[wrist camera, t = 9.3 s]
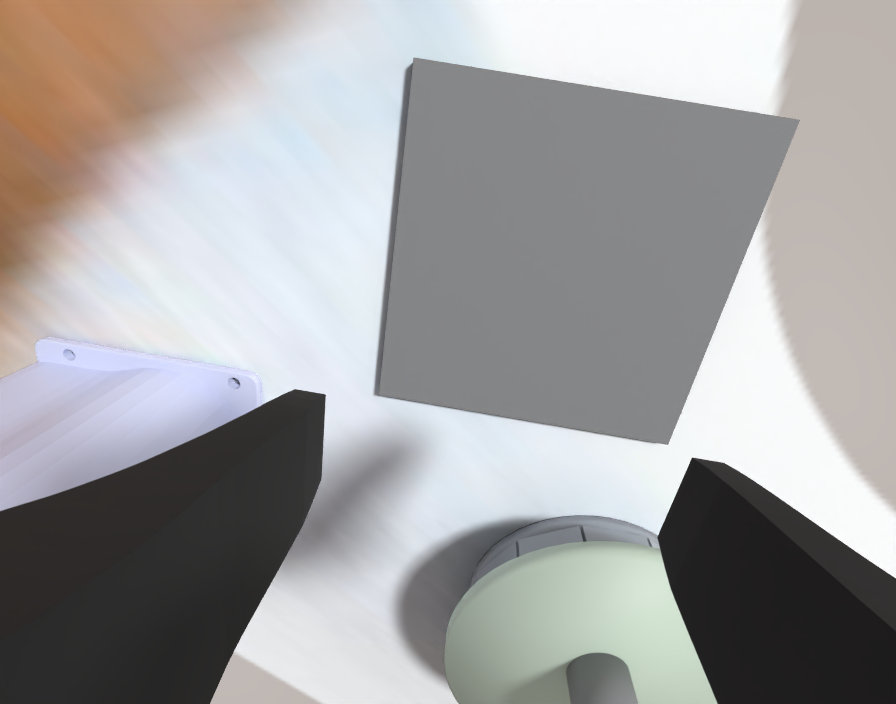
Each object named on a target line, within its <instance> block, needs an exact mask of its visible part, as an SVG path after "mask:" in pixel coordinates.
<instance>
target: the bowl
mask: <svg viewBox="0 0 896 704" xmlns="http://www.w3.org/2000/svg"><path fill="white" fill-rule="evenodd" d="M657 537H658V536H657V535H655V534H654V533H652V532H650V531H648V530H646V529H644V528H642V527H640V526H637V525H634V524H631V523H628V522H625V521H621V520H617V519H612V518H606V517H598V516H567V517H559V518H553V519H548V520H544V521H541V522H537V523H534V524H531V525H528V526H526V527H524V528H521V529H519V530H517V531H515V532H513V533H511V534H510V535H508V536H506V537H505V538H503V539H502V540H501V541H499V542H498V543H496V544H495V545H494V546H493V547H492V548H491V549H490V550H489V551H488V552H487V553H486V554H485V555H484V557H483V558H482V559H481V561H480V562H479V563H478V565H477V567H476V569H475V571H474V573H473V576H472V579H471V582H470V587H469V589H470V588H471V587H472V586H473V585H474V584H475V583H476V582H477V581H478V580H480V579H481V578H482V577H484V576H485V575H486V574H488V573H489V572H490V571H492V570H493V569H495V568H497V567H499V566H500V565H502V564H504V563H506V562H508V561H510V560H512V559H514V558H517V557H519V556H522V555H524V554H526V553H529V552H533V551H536V550H539V549H543V548H546V547H551V546H556V545H561V544H567V543H575V542H587V541H616V542H625V543H634V544H640V545H645V546H650V547H654V548H659V549H660V546H659V542H658V538H657Z"/></svg>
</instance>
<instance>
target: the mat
mask: <svg viewBox="0 0 896 704" xmlns="http://www.w3.org/2000/svg"><path fill="white" fill-rule="evenodd" d="M799 121H800V120H797V119H791V118H785V117H779V116H772V115H766V114H760V113H754V112H748V111H741V110H735V109H729V108H723V107H717V106H710V105H704V104H698V103H692V102H686V101H679V100H673V99H667V98H661V97H655V96H648V95H642V94H636V93H630V92H624V91H618V90H611V89H605V88H599V87H593V86H587V85H580V84H574V83H568V82H562V81H556V80H549V79H543V78H537V77H531V76H525V75H518V74H512V73H506V72H500V71H494V70H487V69H481V68H475V67H469V66H463V65H457V64H450V63H444V62H438V61H432V60H426V59H419V58H414V59H413V68H412V78H411V88H410V97H409V107H408V117H407V126H406V136H405V146H404V155H403V165H402V175H401V185H400V194H399V204H398V214H397V223H396V233H395V243H394V252H393V262H392V272H391V281H390V291H389V301H388V310H387V320H386V330H385V340H384V349H383V359H382V369H381V378H380V388H379V395H381V396H387V397H393V398H399V399H404V400H410V401H416V402H422V403H428V404H434V405H439V406H445V407H451V408H457V409H463V410H469V411H474V412H480V413H486V414H492V415H498V416H503V417H509V418H515V419H521V420H527V421H533V422H538V423H544V424H550V425H556V426H562V427H568V428H573V429H579V430H585V431H591V432H597V433H602V434H608V435H614V436H620V437H626V438H632V439H637V440H643V441H649V442H655V443H661V444H667V445H668V443H669V441H670V439H671V436H672V434H673V431H674V429H675V426H676V424H677V421H678V419H679V416H680V414H681V411H682V409H683V407H684V404H685V402H686V399H687V397H688V394H689V392H690V389H691V387H692V384H693V382H694V379H695V377H696V375H697V372H698V370H699V367H700V365H701V362H702V360H703V357H704V355H705V352H706V350H707V347H708V345H709V342H710V340H711V338H712V335H713V333H714V330H715V328H716V325H717V323H718V320H719V318H720V315H721V313H722V310H723V308H724V306H725V303H726V301H727V298H728V296H729V293H730V291H731V288H732V286H733V283H734V281H735V278H736V276H737V274H738V271H739V269H740V266H741V264H742V261H743V259H744V256H745V254H746V251H747V249H748V246H749V244H750V242H751V239H752V237H753V234H754V232H755V229H756V227H757V224H758V222H759V219H760V217H761V214H762V212H763V210H764V207H765V205H766V202H767V200H768V197H769V195H770V192H771V190H772V187H773V185H774V182H775V180H776V177H777V175H778V172H779V170H780V167H781V165H782V163H783V160H784V158H785V155H786V153H787V150H788V148H789V146H790V143H791V140H792V138H793V136H794V133H795V130H796V128H797V126H798V123H799Z"/></svg>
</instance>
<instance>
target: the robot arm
mask: <svg viewBox="0 0 896 704" xmlns="http://www.w3.org/2000/svg"><path fill="white" fill-rule="evenodd" d="M35 351H36V355H37V360H38V362H36V363H34V364H32V365H30V366H27V367H25V368H23V369H21V370H19V371H16V372H14V373H12V374H10V375H8V376H5V377H3V378H1V379H0V704H210V702H211V699H212V698H213V695H214V693H215V691H216V689H217V686H218V684H219V682H220V680H221V677H222V675H223V673H224V671H225V668H226V666H227V664H228V662H229V660H230V658H231V656H232V654H233V652H234V650H235V648H236V646H237V644H238V642H239V640H240V638H241V636H242V634H243V633H244V631H245V629H246V627H247V625H248V624H249V622H250V620H251V618H252V616H253V615H254V613H255V611H256V609H257V607H258V606H259V604H260V602H261V600H262V598H263V597H264V595H265V593H266V591H267V589H268V588H269V586H270V584H271V582H272V580H273V579H274V577H275V575H276V573H277V571H278V570H279V568H280V566H281V564H282V562H283V561H284V559H285V557H286V555H287V553H288V551H289V550H290V548H291V546H292V544H293V542H294V540H295V539H296V537H297V535H298V533H299V531H300V529H301V527H302V526H303V524H304V521H305V519H306V516H307V514H308V511H309V509H310V507H311V504H312V502H313V499H314V496H315V494H316V491H317V489H318V486H319V484H320V481H321V476H322V456H323V436H324V417H325V397H326V395H325V394H319V393H314V392H308V391H302V390H296V389H295V390H292V391H290V392H288V393H285V394H283V395H281V396H279V397H277V398H275V399H273V400H271V401H269V402H267V403H265V404H263V405H262V386H261V379H260V378H259V376H258V375H256V374H255V373H254V372H251V371H246V370H240V369H235V368H229V367H223V366H217V365H211V364H206V363H200V362H194V361H188V360H182V359H176V358H171V357H165V356H159V355H153V354H147V353H141V352H136V351H130V350H124V349H118V348H112V347H106V346H101V345H95V344H89V343H83V342H77V341H72V340H66V339H60V338H54V337H45V338H43V339H40V340H38V341H37V342H36V344H35ZM71 351H72V352H73V353H74V354H75V356H74V355H73V354H72V352H71ZM233 378H236V379H238V381H239V382H240V385H238V384H236V383H235V382H234V381H233ZM657 538H658V542H659V546H660V551H661V555H662V559H663V563H664V567H665V570H666V574H667V578H668V581H669V585H670V588H671V591H672V594H673V596H674V599H675V601H676V604H677V606H678V609H679V611H680V614H681V616H682V619H683V621H684V624H685V626H686V629H687V631H688V634H689V636H690V638H691V641H692V643H693V646H694V648H695V650H696V653H697V655H698V658H699V660H700V663H701V665H702V667H703V670H704V672H705V675H706V677H707V679H708V682H709V684H710V687H711V689H712V692H713V694H714V696H715V699H716V701H717V704H896V578H894V577H893V576H891V575H890V574H888V573H887V572H885V571H884V570H882V569H881V568H879V567H878V566H876V565H875V564H873V563H872V562H870V561H869V560H867V559H866V558H864V557H863V556H861V555H860V554H858V553H857V552H855V551H854V550H852V549H851V548H850V547H848V546H847V545H845V544H844V543H842V542H841V541H839V540H838V539H837V538H835V537H834V536H832V535H831V534H829V533H828V532H827V531H825V530H824V529H822V528H821V527H819V526H818V525H816V524H815V523H814V522H812V521H811V520H809V519H808V518H807V517H805V516H804V515H802V514H801V513H799V512H798V511H797V510H795V509H794V508H792V507H791V506H789V505H788V504H786V503H785V502H784V501H782V500H781V499H779V498H778V497H776V496H775V495H774V494H772V493H771V492H769V491H768V490H766V489H765V488H763V487H762V486H760V485H759V484H757V483H756V482H754V481H753V480H751V479H750V478H748V477H747V476H745V475H744V474H742V473H740V472H739V471H737V470H735V469H734V468H732V467H730V466H728V465H726V464H725V463H721V462H715V461H709V460H703V459H697V458H692V459H691V462H690V464H689V466H688V468H687V471H686V473H685V475H684V478H683V480H682V482H681V484H680V487H679V489H678V491H677V494H676V496H675V498H674V501H673V503H672V505H671V507H670V510H669V512H668V514H667V517H666V519H665V521H664V523H663V526H662V528H661V530H660V533H659V535H658V537H657Z"/></svg>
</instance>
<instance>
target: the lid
mask: <svg viewBox="0 0 896 704" xmlns="http://www.w3.org/2000/svg"><path fill="white" fill-rule="evenodd" d="M444 666H445V675H446V678H447V681H448V685H449V687H450V689H451V691H452V693H453V695H454V697H455V699H456V700H457V702H458V703H459V704H717V701H716V699H715V696H714V694H713V692H712V689H711V687H710V684H709V682H708V679H707V677H706V675H705V672H704V670H703V667H702V665H701V663H700V660H699V658H698V655H697V653H696V650H695V648H694V646H693V643H692V641H691V638H690V636H689V634H688V631H687V629H686V626H685V624H684V621H683V619H682V616H681V614H680V611H679V609H678V606H677V604H676V601H675V599H674V596H673V594H672V591H671V588H670V585H669V581H668V578H667V574H666V570H665V567H664V563H663V559H662V555H661V551H660V549H659V548H654V547H650V546H645V545H640V544H634V543H625V542H616V541H587V542H575V543H567V544H561V545H556V546H551V547H546V548H543V549H539V550H536V551H533V552H529V553H526V554H524V555H522V556H519V557H517V558H514V559H512V560H510V561H508V562H506V563H504V564H502V565H500V566H499V567H497V568H495V569H493V570H492V571H490V572H489V573H488V574H486V575H485V576H484V577H482V578H481V579H480V580H478V581H477V582H476V583H475V584H474V585H473V586H472V587H471V588H470V589H469V590H468V591H467V592H466V593H465V595H464V596H463V597H462V599H461V600H460V601H459V603H458V604H457V606H456V608H455V610H454V612H453V614H452V616H451V618H450V621H449V624H448V628H447V633H446V644H445V655H444Z"/></svg>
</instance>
